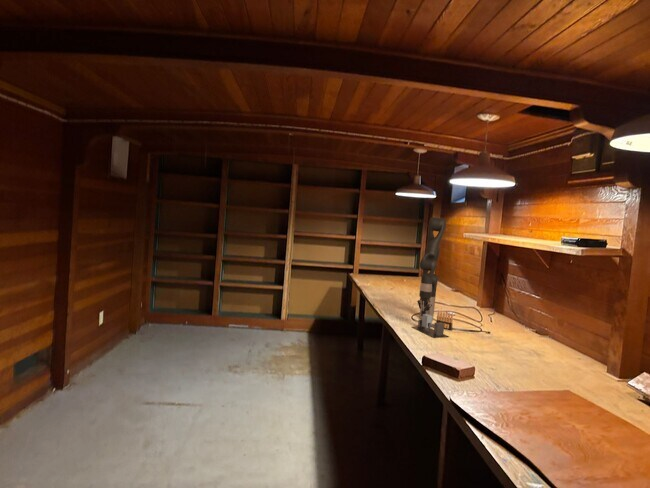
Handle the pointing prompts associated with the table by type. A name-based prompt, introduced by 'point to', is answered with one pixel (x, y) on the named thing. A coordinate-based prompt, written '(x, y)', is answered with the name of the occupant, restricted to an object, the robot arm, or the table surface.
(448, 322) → the ammunition clip
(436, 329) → the dark grey mounting base
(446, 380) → the table surface
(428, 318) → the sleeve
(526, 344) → the table surface
